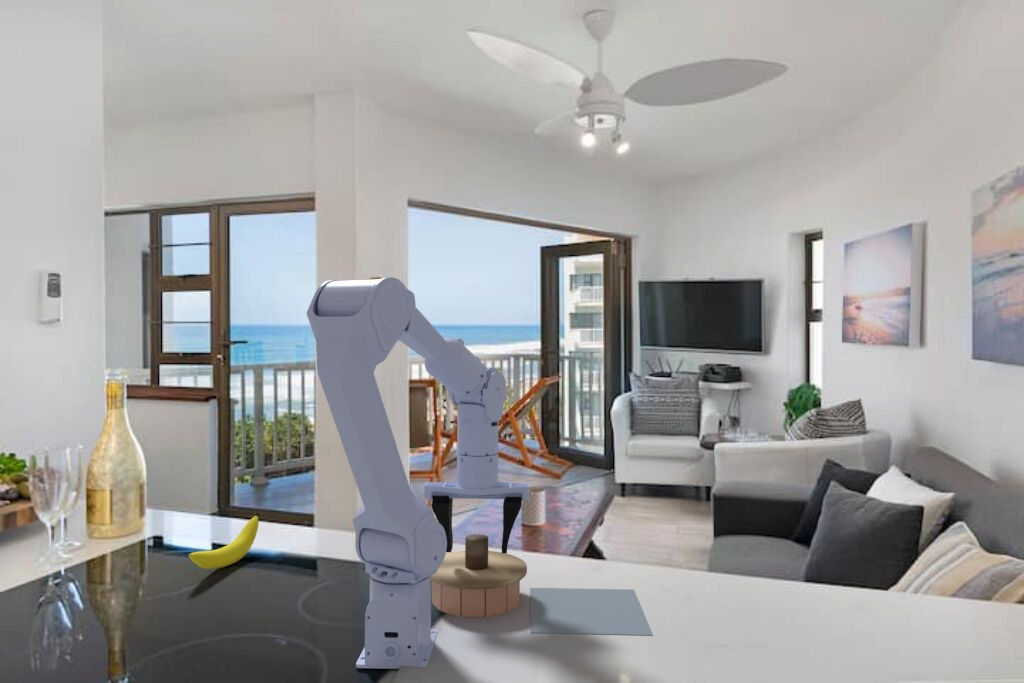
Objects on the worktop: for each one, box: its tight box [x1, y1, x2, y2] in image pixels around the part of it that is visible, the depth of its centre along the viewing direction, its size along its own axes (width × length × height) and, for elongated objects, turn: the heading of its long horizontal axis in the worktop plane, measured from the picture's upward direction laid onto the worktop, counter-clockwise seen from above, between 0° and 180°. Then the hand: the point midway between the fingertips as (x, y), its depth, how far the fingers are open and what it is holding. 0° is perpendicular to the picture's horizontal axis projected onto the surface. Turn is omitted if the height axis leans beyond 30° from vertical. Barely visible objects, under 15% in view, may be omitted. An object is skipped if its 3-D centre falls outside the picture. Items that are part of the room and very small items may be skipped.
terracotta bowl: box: [431, 580, 521, 618], centre depth 94 cm, size 12×12×4 cm
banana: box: [188, 512, 261, 570], centre depth 108 cm, size 3×19×6 cm, turn 171°
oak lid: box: [431, 533, 528, 589], centre depth 94 cm, size 14×14×5 cm
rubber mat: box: [529, 587, 653, 637], centre depth 91 cm, size 15×15×1 cm
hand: (476, 550), depth 94 cm, fingers open, 7 cm apart
